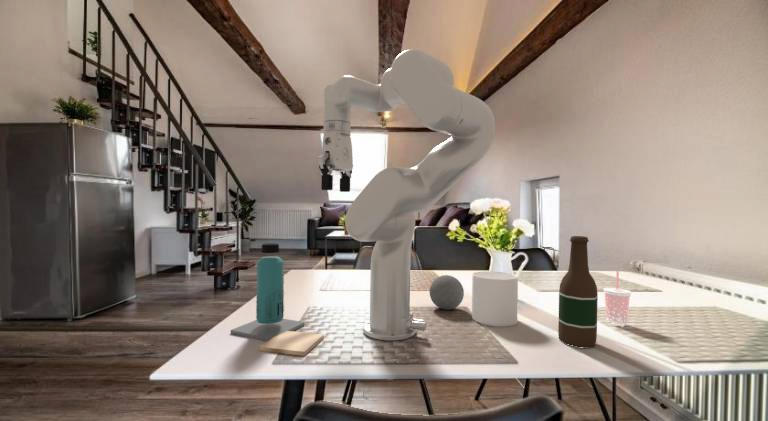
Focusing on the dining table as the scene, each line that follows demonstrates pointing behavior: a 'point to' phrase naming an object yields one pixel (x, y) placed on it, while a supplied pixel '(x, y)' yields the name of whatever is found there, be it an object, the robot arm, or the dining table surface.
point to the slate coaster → (266, 329)
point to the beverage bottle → (270, 286)
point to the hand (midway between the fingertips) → (336, 190)
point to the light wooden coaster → (292, 343)
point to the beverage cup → (617, 303)
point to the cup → (494, 298)
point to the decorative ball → (446, 292)
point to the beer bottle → (578, 299)
